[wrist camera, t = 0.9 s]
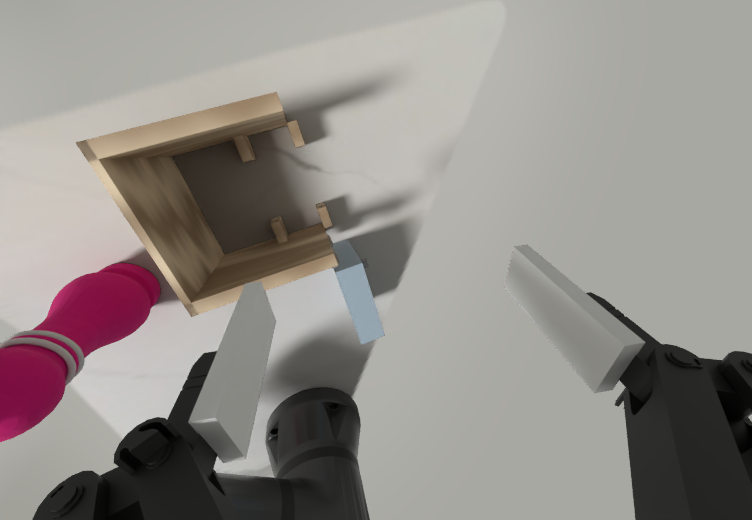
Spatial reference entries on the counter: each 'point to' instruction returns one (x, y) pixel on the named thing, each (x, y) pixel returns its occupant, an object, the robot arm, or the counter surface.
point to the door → (357, 292)
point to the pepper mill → (69, 341)
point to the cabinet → (182, 214)
